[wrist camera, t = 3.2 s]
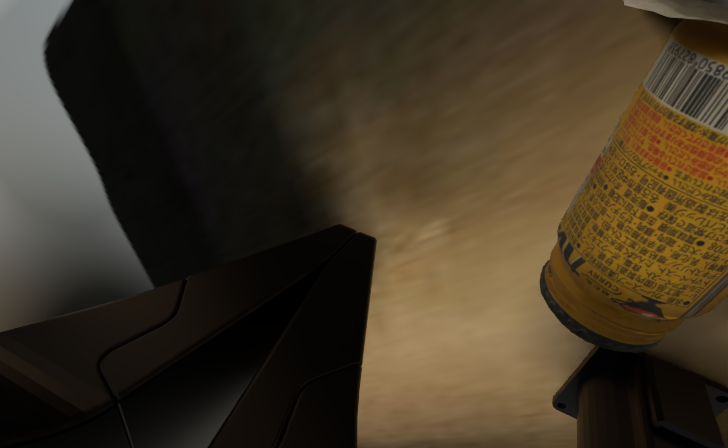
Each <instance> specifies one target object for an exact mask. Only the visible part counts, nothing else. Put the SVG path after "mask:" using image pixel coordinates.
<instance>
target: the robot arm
mask: <svg viewBox="0 0 728 448" xmlns="http://www.w3.org/2000/svg"><path fill="white" fill-rule="evenodd" d="M376 243H377V241H376V239H375V238H374V237H371V236H369V235H366V234H364V233H361V232H359V233H357V231H356V230H354V229H352V228H349V227H347V226H345V225H342V224H338V225H335V226H332V227H329V228H326V229H323V230H320V231H318V232H315V233H312V234H309V235H306V236H303V237H301V238H298V239H295V240H292V241H289V242H286V243H284V244H281V245H278V246H275V247H272V248H269V249H267V250H264V251H261V252H258V253H255V254H252V255H250V256H247V257H244V258H241V259H238V260H235V261H233V262H230V263H227V264H224V265H221V266H218V267H215V268H213V269H210V270H207V271H204V272H201V273H198V274H196V275H193V276H190V277H188V278H187V280H185V279H181V280H178V281H175V282H173V283H170V284H167V285H164V286H161V287H158V288H155V289H152V290H149V291H146V292H143V293H140V294H137V295H134V296H131V297H127V298H124V299H120V300H117V301H113V302H110V303H106V304H103V305H99V306H96V307H92V308H89V309H85V310H81V311H78V312H74V313H70V314H66V315H63V316H59V317H55V318H51V319H48V320H44V321H40V322H36V323H33V324H30V325H25V326H22V327H18V328H14V329H10V330H7V331H3V332H0V448H357V415H358V402H359V389H360V380H361V372H362V367H361V366H362V362H363V353H364V345H365V336H366V328H367V319H368V311H369V302H370V294H371V285H372V277H373V269H374V260H375V252H376ZM552 404H553V407H554V408H555V409H557V410H558V411H561V412H563V413H565V414H567V415H569V416H571V417H573V418H576V419H577V448H725V444H724V441H723V438H722V435H721V432H720V429H719V426H718V423H717V420H716V416H717V415H719V414H720V413H721V412H723V411H724V410H725V409H727V408H728V388H727V387H724V386H722V385H720V384H717V383H715V382H713V381H710V380H708V379H705V378H703V377H701V376H698V375H696V374H693V373H691V372H689V371H686V370H684V369H681V368H679V367H677V366H674V365H672V364H670V363H667V362H665V361H662V360H660V359H658V358H655V357H653V356H650V355H648V354H646V353H643V352H637V353H635V352H620V351H613V350H609V349H605V348H602V347H599V346H595V347H594V348H593V350H592V351H591V352H590V353H589V354H588V356H587V357H586V358H585V359H584V360H583V362H582V363H581V364H580V365H579V366H578V368H577V369H576V370H575V371H574V372H573V374H572V375H571V376H570V377H569V378H568V380H567V381H566V382H565V383H564V384H563V386H562V387H561V388H560V389H559V391H558V392H557V393H556V394H555V395H554V397H553V401H552Z"/></svg>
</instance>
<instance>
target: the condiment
mask: <svg viewBox="0 0 728 448" xmlns="http://www.w3.org/2000/svg"><path fill="white" fill-rule="evenodd" d="M624 5H627V6H631V7H635V8H639V9H644V10H648V11H653V12H656V13H658V14H661V15H663V16H666V17H672V18H685V19H684V20H683V21H681V22H680V23H679V24H678V25H677V26H676V27H675V28H674V29H673V31H672V32H671V33H670V36H669V38H668V40H667V42H666V43H665V45H664V46H663V48H662V50H661V53H660V55H659V56H658V57H657V58H656V60H655V61H654V63H653V65H652V67H651V69H650V70H649V71H648V73H647V75H646V77H645V79H644V81H643V83H642V84H641V85H640V87H639V89H638V91H637V92H636V94H635V95H634V97H633V99H632V101H631V103H630V105H629V107H628V109H627V110H626V111H625V112H624V113H623V114H622V116H621V118H620V122H619V123H618V125H617V127H616V129H615V130H614V132H613V133H612V135H611V137H610V139H609V141H608V142H607V144H606V146H605V148H604V149H603V150H602V153H601V154H600V156H599V157H598V159H597V161H596V163H595V164H594V166H593V168H592V170H591V171H590V173H589V174H588V176H587V178H586V180H585V181H584V183H583V184H582V186H581V187H580V188H579V190H578V192H577V194H576V196H575V198H574V200H573V201H572V203H571V205H570V207H569V208H568V210H567V211H566V213H565V215H564V217H563V218H562V219H561V222H560V224H559V227H558V231H557V232H558V242H557V243H556V245H555V247H554V249H553V250H552V252H551V256H550V260H548V261H547V262H546V264H545V265H544V266H543V268H542V272H541V276H540V290H541V294H542V296H543V297H544V299H545V301H546V303H547V305H548V306H549V308H550V309H551V311H552V312H553V313H554V314H555V316H556V317H557V318H558V319H559V321H560V322H561V323H562V324H563V325H564V326H565V327H566V328H568V329H569V330H570V331H571V332H572V333H574V334H576V335H577V336H579V337H580V338H582V339H583V340H585V341H588V342H590V343H592V344H594V345H596V346H599V347H602V348H605V349H609V350H613V351H620V352H635V353H637V352H641V351H643V350H646V349H649V348H651V347H653V346H656V345H657V344H658V342H660V341H661V339H662V338H663V337H664V336H665V335H666V334H667V333H668V332H670V331H672V330H674V329H675V328H677V327H678V326H679V325H680V324H681V322H682V321H683V320H684V319H688V318H693V317H696V316H699V315H702V314H704V313H707V312H709V311H710V310H712V309H713V308H715V306H716V305H717V304H718V303H719V302H720V301H722V300H723V299H725V298H726V297H728V0H624Z"/></svg>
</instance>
